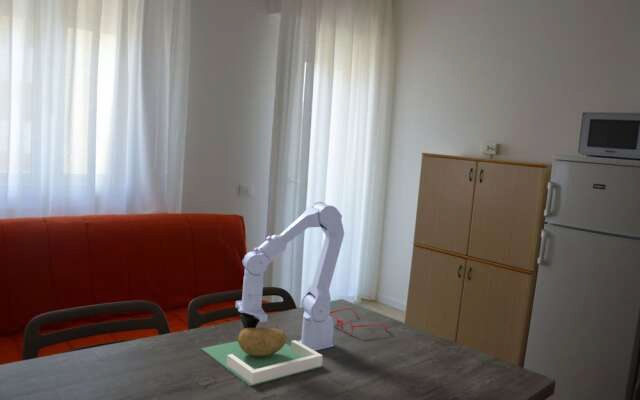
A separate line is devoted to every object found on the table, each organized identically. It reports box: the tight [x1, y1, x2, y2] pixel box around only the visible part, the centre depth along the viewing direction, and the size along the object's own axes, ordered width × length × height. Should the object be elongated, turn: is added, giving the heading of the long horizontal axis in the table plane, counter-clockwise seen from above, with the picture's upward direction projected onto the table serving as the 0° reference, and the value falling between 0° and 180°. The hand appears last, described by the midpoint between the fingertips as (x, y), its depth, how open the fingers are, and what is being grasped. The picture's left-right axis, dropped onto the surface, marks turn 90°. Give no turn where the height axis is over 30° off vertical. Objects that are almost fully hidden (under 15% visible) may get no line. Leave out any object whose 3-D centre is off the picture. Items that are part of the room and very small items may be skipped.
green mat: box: [200, 340, 324, 387], centre depth 151 cm, size 24×26×1 cm
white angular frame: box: [227, 339, 324, 384], centre depth 146 cm, size 23×13×3 cm, turn 130°
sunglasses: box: [329, 307, 387, 336], centre depth 183 cm, size 17×16×5 cm
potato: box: [237, 327, 288, 357], centre depth 151 cm, size 10×14×8 cm
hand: (249, 338), depth 156 cm, fingers closed
